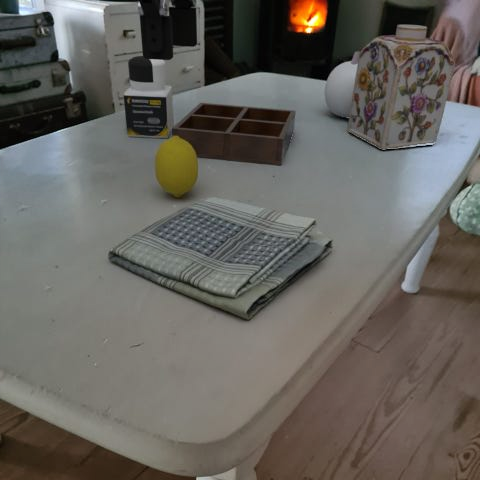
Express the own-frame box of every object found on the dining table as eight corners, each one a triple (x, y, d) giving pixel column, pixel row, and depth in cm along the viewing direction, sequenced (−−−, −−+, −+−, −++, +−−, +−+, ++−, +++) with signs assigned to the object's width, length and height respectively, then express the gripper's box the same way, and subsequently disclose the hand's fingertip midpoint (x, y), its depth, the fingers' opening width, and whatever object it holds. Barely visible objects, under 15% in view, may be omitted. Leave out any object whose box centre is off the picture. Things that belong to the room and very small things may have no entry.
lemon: (206, 194, 70) (205, 133, 65) (185, 208, 66) (183, 145, 61) (170, 186, 71) (167, 126, 67) (148, 200, 67) (144, 137, 63)
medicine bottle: (126, 137, 89) (119, 60, 82) (135, 125, 95) (129, 52, 88) (168, 139, 89) (164, 62, 82) (174, 127, 95) (171, 54, 88)
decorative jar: (381, 152, 87) (404, 30, 77) (344, 132, 96) (361, 21, 85) (437, 146, 91) (467, 29, 80) (398, 128, 100) (420, 20, 89)
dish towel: (102, 263, 54) (98, 235, 52) (207, 208, 66) (207, 184, 64) (251, 328, 45) (253, 297, 44) (340, 251, 58) (344, 225, 56)
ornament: (363, 127, 99) (374, 58, 92) (314, 118, 103) (321, 51, 96) (379, 116, 106) (391, 51, 99) (333, 108, 110) (341, 45, 103)
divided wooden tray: (172, 154, 82) (171, 128, 80) (200, 125, 96) (200, 102, 94) (281, 165, 80) (283, 138, 78) (293, 134, 94) (295, 110, 91)
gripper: (153, -138, 56) (163, 40, 66) (84, -168, 42) (110, 63, 52) (220, -138, 55) (221, 43, 65) (172, -168, 41) (182, 67, 51)
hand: (171, 51), depth 59 cm, fingers open, 9 cm apart
